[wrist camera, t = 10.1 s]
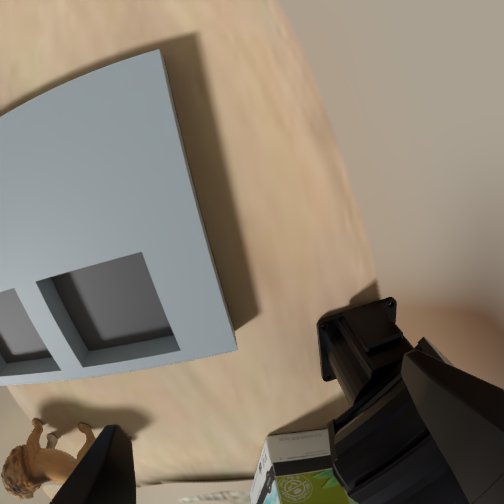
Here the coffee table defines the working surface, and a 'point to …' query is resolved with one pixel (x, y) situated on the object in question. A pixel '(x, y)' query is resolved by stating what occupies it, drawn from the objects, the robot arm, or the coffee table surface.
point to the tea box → (297, 471)
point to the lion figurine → (40, 463)
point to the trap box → (103, 233)
